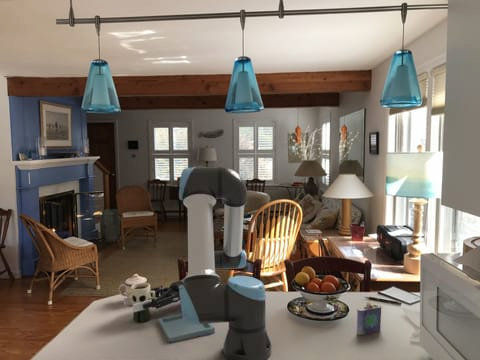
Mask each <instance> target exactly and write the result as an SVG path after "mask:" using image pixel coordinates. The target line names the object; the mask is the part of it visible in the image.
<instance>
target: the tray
mask: <svg viewBox="0 0 480 360" xmlns="http://www.w3.org/2000/svg"><path fill="white" fill-rule="evenodd" d="M158 324H159V327H160V329H161V330H162V332H163V334H164V337H166V339H167V341H168V343H169V344H171V343H176V342H180V341H185V340H189V339H193V338H199V337H204V336H207V335H210V334H212V335H213V334H215V333H216V331H215V330H216V329H215V327H214V325H213V323H205V324H200V325H198V324H186V323H185V322H184V320H183V315H182V313H180V314H176V315H169V316H164V317H160V318H158Z"/></svg>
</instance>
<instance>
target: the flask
mask: <svg viewBox="0 0 480 360" xmlns="http://www.w3.org/2000/svg"><path fill="white" fill-rule="evenodd" d="M356 313H357V315H356V316H357V319H356V323H357V324H356V325H357V326H356V334H357V335H358V336H366V335H372V334H375V333H376V334H378V333H380V332H381V321H382V306H380V305H378V304H371V302H370V301H366V305H365V306H362V307H359V308H357V312H356Z"/></svg>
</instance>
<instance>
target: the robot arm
mask: <svg viewBox="0 0 480 360" xmlns="http://www.w3.org/2000/svg"><path fill="white" fill-rule="evenodd" d="M248 196H249V194H248V188H247V185H246V183H245V181H244V180H243V178H242V176H241V175H240V174H239V173H238V172H237V171H235V170H234V169H232V168H230V167H227V166H218V167H217V166H213V167H211V166H210V167H197V166H193V167H187V168H184V169H182V172H181V174H180V180H179V189H178V198H179V200H181V201H183V202H182V203H183V205H184V206H185V207H186V208H187V263H188V264H187V265H188V266H187V267H188V268H187V270H188V272H187V273H188V274H187V275H186V276H185V277H184V278H183V279H181V280H177V281H173V282H172V283H171V284H170V286H169V287H163V285H159V286H157V287H152V288H151V287H150V291H155V299H150V300H147V301H144V302H140V303H137V304H133V305H132V308H133V309H132V311H133V313H134V312H137V311H141V310H144V309H147V308H149V309H151V308H153V309H154V308H155V309H156V310H157V309H161V308H164V307H165V306H168V305H171V304H173V303H178V302H180V307H181V314H182V315H183V320H184V322H185V323H186V324H198V325H200V324H205V323H211V324H218V323H219V324H220V323H221V324H222V323H228V330H227V332H226V336H225V339H224V342H223V355H224V357H225V358H226V359H228V360H267V359H268V358H270V357H271V355H272V342H271V339H270V336H269V333H268V330H267V326H266V324H267V323H266V322H267V321H266V320H267V319H266V314H267V313H266V312H267V311H266V300H267V295H266V287H265V284H264V283H263V281H261V280H259V279H257V278H255V277H252V276H247V275H234V276H230V277H229V278H228V280H227V282H224V283H222V282H221V277H220V276H219V275H218V274H217V273H216V270H233V269H235V270H237V269H243V268H245V267H246V266H247V255H246V251H245V249H243V237H244V235H243V233H244V231H243V230H244V216H245V215H244V214H245V205H246V204H247V203H248V198H249V197H248ZM217 200H221V201H222V203H223V204H224V213H223V214H224V218H223V225H224V226H223V250H215V242H214V241H215V240H214V220H213V217H214V216H213V207H214V206H216V204H217ZM150 294H151V297H153V294H152V293H150ZM131 303H132V302H131V299H127V297H126V296H124V297H123V306H127V305H129V304H131Z"/></svg>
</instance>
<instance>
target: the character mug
mask: <svg viewBox="0 0 480 360" xmlns="http://www.w3.org/2000/svg"><path fill="white" fill-rule="evenodd" d="M150 289H151V284H150V283H148V282H147V283H137V284H134V285H132V286H131V290H128V291H127V299H131V302H132V303H133V304H137V303H140V302H144V301H147V300H151V299H155V291H150ZM129 293H131V296H129ZM150 293H152V294H153V297H151V294H150ZM132 316H133V317H132V320H133V321H135V322H140V323H141V322H146V321H148V320H149V319H150V318H151V311H150V308H147V309H144V310H141V311H137V312H133V315H132Z"/></svg>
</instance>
